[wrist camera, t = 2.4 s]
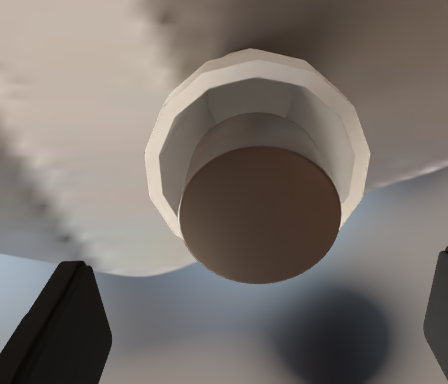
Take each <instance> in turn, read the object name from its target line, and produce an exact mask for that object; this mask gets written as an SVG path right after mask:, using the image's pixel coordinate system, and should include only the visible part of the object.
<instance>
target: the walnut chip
mask: <svg viewBox="0 0 448 384" xmlns="http://www.w3.org/2000/svg"><path fill="white" fill-rule="evenodd" d="M341 214H342V213H341V203H340V198H339V195H338V192H337V190H336V187H335V185H334V183H333V181H332V178H331V176H330V174H329V172H328V169H327V167H326V165H325V163H324V161H323V158H322V156H321V154H320V152H319V149H318V147H317V145H316V144H315V142H314V140H313V139H312V138H311V137H310V135H309V134H308V133H307V132H306V131H305V130H304V129H303V128H302V127H300V126H299V125H298V124H296V123H295V122H293V121H291V120H289V119H287V118H285V117H282V116H279V115H275V114H271V113H262V112H252V113H244V114H239V115H236V116H233V117H230V118H228V119H226V120H223V121H221V122H220V123H218V124H217V125H215V126H214V127H213V128H211V129H210V130H209V131H208V132H207V133H206V134H205V135H204V136H203V137H202V138H201V140H200V141H199V143H198V144H197V146H196V148H195V150H194V152H193V155H192V158H191V161H190V165H189V169H188V172H187V176H186V180H185V183H184V187H183V191H182V194H181V198H180V202H179V208H178V224H179V229H180V233H181V236H182V238H183V241H184V243H185V245H186V247H187V248H188V250H189V251H190V253H191V254H192V255H193V256H194V257H195V259H196V260H197V261H198V262H200V263H201V264H202V265H203V266H204V267H206V268H207V269H209V270H210V271H212V272H213V273H216V274H217V275H219V276H222V277H224V278H226V279H229V280H233V281H236V282H241V283H249V284H267V283H275V282H279V281H284V280H287V279H290V278H293V277H295V276H298V275H299V274H302V273H303V272H305V271H307V270H308V269H310V268H311V267H313V266H314V265H315V264H317V263H318V262H319V261H320V260H321V259H322V258H323V257H324V256H325V255H326V253H327V252H328V251H329V250H330V248H331V246H332V245H333V243H334V241H335V239H336V237H337V234H338V232H339V228H340V224H341Z"/></svg>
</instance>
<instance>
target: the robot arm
mask: <svg viewBox="0 0 448 384" xmlns="http://www.w3.org/2000/svg"><path fill="white" fill-rule="evenodd" d="M423 329H424V334H425V338H426V340H427V342H428V344H429V346H430V348H431V350H432V351H433V353H434V355H435V357H436V359H437V361H438V363H439V365H440V366H441V369H442V371H443V372H444V374H445V376H446V378H447V380H448V246H447V247H446V250H445V251H441V252H440V253H439V256H438V261H437V265H436V270H435V275H434V279H433V284H432V288H431V293H430V297H429V302H428V306H427V311H426V316H425V320H424V326H423ZM111 345H112V334H111V330H110V327H109V324H108V320H107V317H106V314H105V310H104V307H103V303H102V300H101V297H100V293H99V290H98V287H97V283H96V280H95V276H94V273H93V269H92V267H91V266H86V263H85V262H84V261H63V262H61V263H60V264H59V265H58V266H57V268H56V270H55V271H54V273H53V274H52V276H51V278H50V279H49V281H48V282H47V284H46V285H45V287H44V288H43V290H42V291H41V293H40V295H39V296H38V298H37V300H36V301H35V302H34V304H33V306H32V307H31V309H30V310H29V312H28V313H27V314H26V315H25V316H24V318H23V319H22V321H21V322H20V324H19V325H18V327H17V328H16V330H15V332H14V333H13V335H12V336H11V338H10V339H9V341H8V342H7V344H6V346H5V347H4V349H3V350H2V352H1V353H0V384H98V383H99V380H100V377H101V375H102V372H103V369H104V366H105V363H106V360H107V357H108V355H109V352H110V348H111Z"/></svg>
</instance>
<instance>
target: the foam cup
mask: <svg viewBox="0 0 448 384" xmlns="http://www.w3.org/2000/svg"><path fill="white" fill-rule="evenodd" d="M252 112H262V113H271V114H275V115H279V116H282V117H285V118H287V119H289V120H291V121H293V122H295V123H296V124H298V125H299V126H300V127H302V128H303V129H304V130H305V131H306V132H307V133H308V134H309V135H310V137H311V138H312V139H313V140H314V142H315V144H316V145H317V147H318V149H319V152H320V154H321V156H322V158H323V161H324V163H325V165H326V167H327V169H328V172H329V174H330V176H331V178H332V181H333V183H334V185H335V187H336V190H337V192H338V195H339V198H340V203H341V213H342V214H341V224H340V228H341V226H342V225H343V224H344V222H345V221H346V220H347V218H348V217H349V216H350V214H351V213H352V212H353V210H354V209H355V207H356V206H357V205H358V203H359V202H360V201H361V199H362V198H363V192H364V186H365V181H366V175H367V169H368V163H369V158H370V150H369V148H368V145H367V142H366V139H365V136H364V133H363V131H362V128H361V125H360V122H359V119H358V116H357V114H356V111H355V108H354V106H353V105H352V104H351V103H350V102H349V100H348V99H347V98H346V97H345V96H344V95H343V94H342V92H341V91H340V90H338V89H337V88H336V87H335V86H334V85H333V84H332V83H330V82H329V81H328V80H327V79H326V78H325V77H324V76H322V75H321V74H320V73H319V72H318V71H317V70H315V69H314V68H313V67H312V66H311V65H310V64H309V63H307V62H306V61H305V60H301V59H297V58H293V57H288V56H284V55H280V54H275V53H271V52H267V51H262V50H258V49H252V48H249V49H245V50H241V51H237V52H233V53H229V54H227V55H226V56H224V57H222V58H218V59H214V60H210V61H207V62H206V63H205V64H203V65H202V66H201V67H200V68H199V69H198V70H196V71H195V72H194V73H193V74H192V75H191V76H190V77H188V78H187V79H186V80H185V81H184V82H183V83H181V84H180V85H179V86H178V87H177V88H176V89H174V90H173V91H172V92H171V93H170V95H169V97H168V98H167V100H166V102H165V103H164V105H163V107H162V109H161V111H160V114H159V116H158V119H157V121H156V124H155V127H154V129H153V132H152V134H151V137H150V139H149V142H148V144H147V147H146V149H145V152H144V156H145V164H146V172H147V180H148V189H149V197H150V199H151V200H152V202H153V203H154V205H155V206H156V208H157V209H158V211H159V212H160V214H161V215H162V217H163V218H164V220H165V221H166V223H167V224H168V226H169V227H170V229H171V230H172V232H173V233H174V234H176V235H177V236H179V237H180V238H182V236H181V233H180V229H179V224H178V208H179V202H180V198H181V194H182V191H183V187H184V183H185V180H186V176H187V172H188V169H189V165H190V161H191V158H192V155H193V152H194V150H195V148H196V146H197V144H198V143H199V141H200V140H201V138H202V137H203V136H204V135H205V134H206V133H207V132H208V131H209V130H210V129H211V128H213V127H214V126H215V125H217V124H218V123H220V122H221V121H223V120H226V119H228V118H230V117H233V116H236V115H239V114H244V113H252ZM340 228H339V229H340ZM182 239H183V238H182Z"/></svg>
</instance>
